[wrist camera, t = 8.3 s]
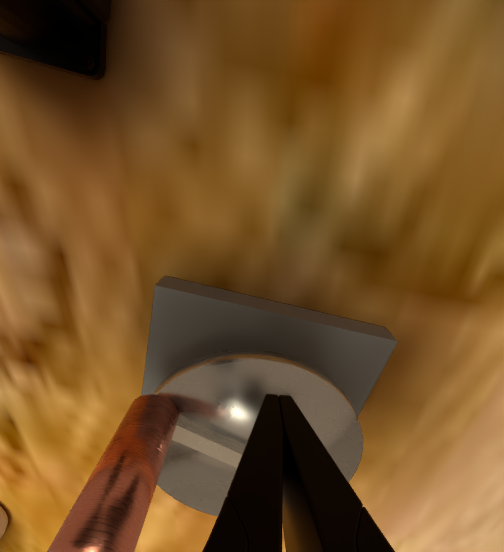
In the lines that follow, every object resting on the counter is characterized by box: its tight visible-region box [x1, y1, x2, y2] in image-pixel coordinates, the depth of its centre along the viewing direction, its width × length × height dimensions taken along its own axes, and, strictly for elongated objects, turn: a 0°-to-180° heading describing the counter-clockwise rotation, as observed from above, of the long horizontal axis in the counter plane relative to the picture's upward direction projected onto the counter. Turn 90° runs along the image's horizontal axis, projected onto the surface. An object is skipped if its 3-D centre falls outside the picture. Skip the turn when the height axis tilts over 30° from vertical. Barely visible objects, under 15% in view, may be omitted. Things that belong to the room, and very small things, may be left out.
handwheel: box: [47, 349, 363, 552], centre depth 12 cm, size 13×12×8 cm
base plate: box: [142, 276, 398, 417], centre depth 17 cm, size 14×14×2 cm
